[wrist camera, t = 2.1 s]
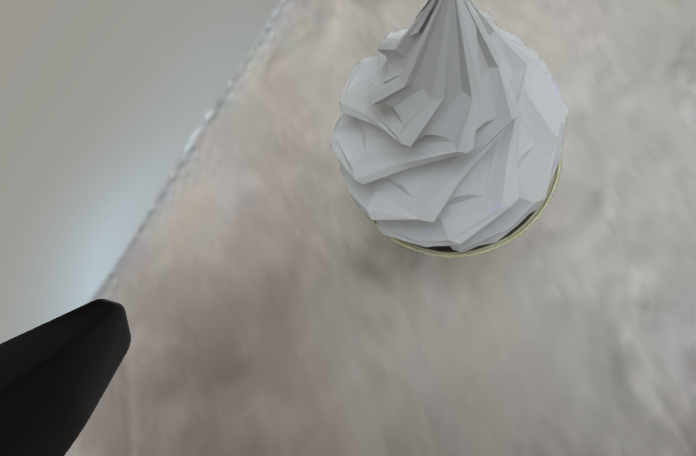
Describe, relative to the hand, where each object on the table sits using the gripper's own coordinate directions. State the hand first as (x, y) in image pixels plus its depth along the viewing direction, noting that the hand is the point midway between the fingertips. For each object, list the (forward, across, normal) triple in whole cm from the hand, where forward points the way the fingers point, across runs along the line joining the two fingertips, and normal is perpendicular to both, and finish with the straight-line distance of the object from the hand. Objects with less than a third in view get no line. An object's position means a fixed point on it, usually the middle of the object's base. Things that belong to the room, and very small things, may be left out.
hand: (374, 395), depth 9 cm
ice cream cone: (+12, 0, +5) cm, 13 cm away
